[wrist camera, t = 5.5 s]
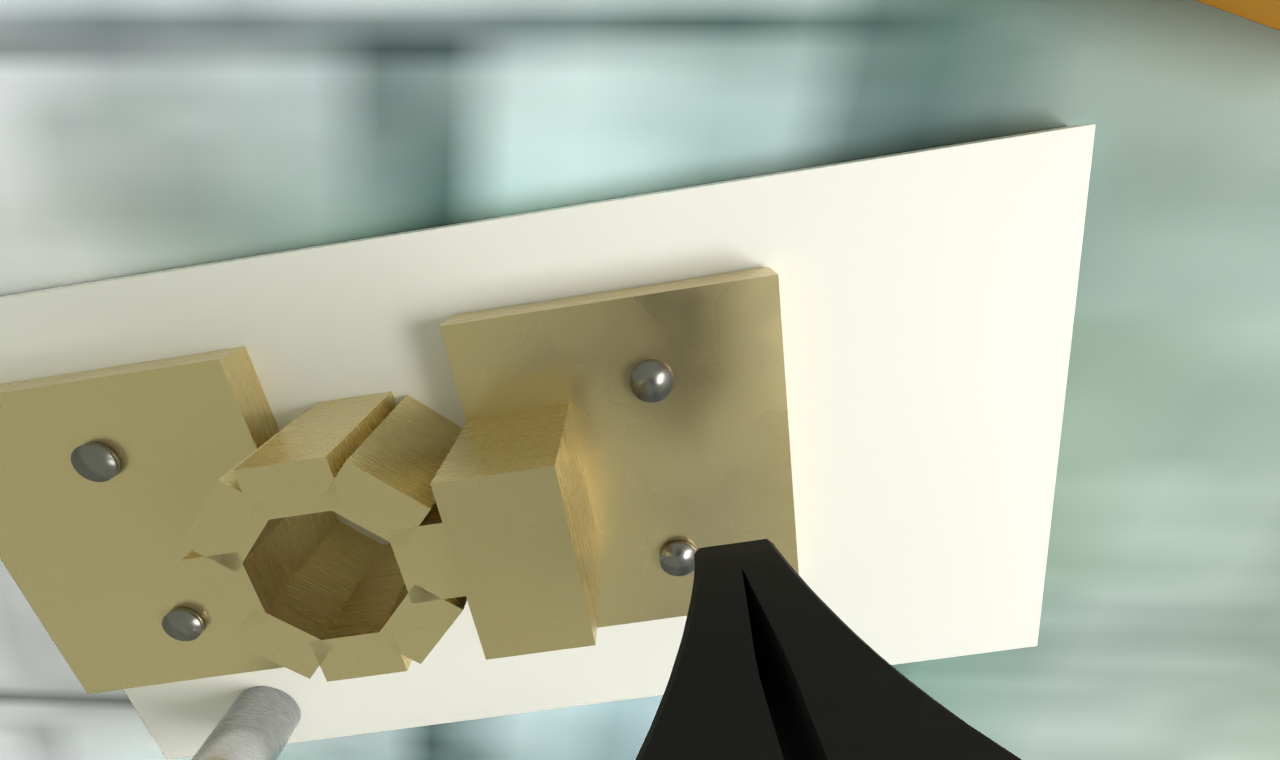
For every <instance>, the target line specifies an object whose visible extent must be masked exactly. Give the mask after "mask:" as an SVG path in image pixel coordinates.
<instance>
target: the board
mask: <svg viewBox="0 0 1280 760" xmlns="http://www.w3.org/2000/svg"><path fill="white" fill-rule="evenodd" d="M1095 125H1096V124H1090V125H1076V126H1067V127H1060V128H1054V129H1048V130H1042V131H1035V132H1029V133H1023V134H1016V135H1010V136H1004V137H998V138H991V139H985V140H979V141H972V142H966V143H960V144H954V145H947V146H941V147H935V148H928V149H922V150H916V151H910V152H903V153H897V154H891V155H885V156H878V157H872V158H866V159H859V160H853V161H847V162H841V163H834V164H828V165H822V166H815V167H809V168H803V169H797V170H790V171H784V172H778V173H771V174H765V175H759V176H753V177H746V178H740V179H734V180H728V181H721V182H715V183H709V184H702V185H696V186H690V187H684V188H677V189H671V190H665V191H658V192H652V193H646V194H640V195H633V196H627V197H621V198H614V199H608V200H602V201H596V202H589V203H583V204H577V205H570V206H564V207H558V208H552V209H545V210H539V211H533V212H527V213H520V214H514V215H508V216H501V217H495V218H489V219H483V220H476V221H470V222H464V223H457V224H451V225H445V226H439V227H432V228H426V229H420V230H413V231H407V232H401V233H395V234H388V235H382V236H376V237H370V238H363V239H357V240H351V241H344V242H338V243H332V244H326V245H319V246H313V247H307V248H300V249H294V250H288V251H282V252H275V253H269V254H263V255H256V256H250V257H244V258H238V259H231V260H225V261H219V262H213V263H206V264H200V265H194V266H187V267H181V268H175V269H169V270H162V271H156V272H150V273H143V274H137V275H131V276H125V277H118V278H112V279H106V280H99V281H93V282H87V283H81V284H74V285H68V286H62V287H56V288H49V289H43V290H37V291H30V292H24V293H18V294H12V295H5V296H0V384H3V383H9V382H16V381H22V380H29V379H35V378H42V377H48V376H55V375H61V374H68V373H74V372H80V371H87V370H93V369H100V368H106V367H113V366H119V365H126V364H132V363H139V362H145V361H152V360H158V359H165V358H171V357H178V356H184V355H191V354H197V353H204V352H210V351H217V350H223V349H230V348H236V347H243V346H245V347H246V349H247V352H248V354H249V357H250V359H251V362H252V364H253V366H254V369H255V371H256V374H257V376H258V379H259V381H260V384H261V386H262V389H263V391H264V394H265V396H266V398H267V401H268V403H269V406H270V408H271V411H272V413H273V416H274V418H275V421H276V423H277V426H278V428H279V431H280V430H282V429H283V428H284V427H285V426H287V425H288V424H289V423H291V422H292V421H293V420H294V419H296V418H297V417H298V416H299V415H301V414H302V413H303V412H305V411H306V410H310V409H311V408H312V407H313V406H315V405H316V404H317V403H318V402H323V401H330V400H337V399H343V398H350V397H357V396H363V395H370V394H377V393H383V392H390V391H392V393H393V396H394V399H395V403H396V406H397V405H398V404H399V403H400V402H401V401H402V400H403V399H404V398H405V397H406V396H407V395H409V396H411V397H412V398H414V399H416V400H417V401H419V402H420V403H422V404H424V405H425V406H427V407H429V408H430V409H432V410H434V411H435V412H437V413H439V414H440V415H442V416H443V417H445V418H447V419H448V420H450V421H452V422H453V423H455V424H457V425H458V426H460V427H461V428H464V427H465V425H466V419H465V416H464V412H463V409H462V405H461V402H460V398H459V394H458V391H457V387H456V384H455V380H454V377H453V373H452V369H451V366H450V362H449V359H448V355H447V352H446V348H445V344H444V341H443V337H442V334H441V330H440V327H439V326H440V325H441V324H443V323H444V322H445V321H446V320H447V319H448V318H449V317H450V316H451V315H456V314H463V313H469V312H476V311H482V310H489V309H495V308H502V307H508V306H515V305H521V304H528V303H534V302H540V301H547V300H553V299H560V298H566V297H573V296H579V295H586V294H592V293H599V292H605V291H612V290H618V289H625V288H631V287H638V286H644V285H651V284H657V283H664V282H670V281H677V280H683V279H690V278H696V277H703V276H709V275H716V274H722V273H729V272H735V271H742V270H748V269H755V268H761V267H769V268H771V269H772V270H773V271H775V272H776V273H777V274H778V278H779V292H780V307H781V322H782V336H783V351H784V365H785V380H786V395H787V409H788V424H789V439H790V453H791V468H792V483H793V497H794V512H795V527H796V541H797V556H798V571H799V576H800V577H801V578H802V579H803V580H804V581H805V583H806V584H807V585H808V586H809V587H810V588H811V589H812V590H813V591H814V592H815V593H816V595H817V596H818V597H819V598H820V599H821V600H822V601H823V602H824V603H825V604H826V605H827V606H828V607H829V608H830V609H831V610H832V611H833V612H834V613H835V614H836V615H837V616H838V617H839V618H840V619H841V620H842V621H843V622H844V623H845V624H846V625H847V626H848V627H849V628H850V629H851V630H852V631H853V632H855V633H856V634H857V635H858V636H859V637H860V638H861V639H862V640H863V641H864V642H865V643H867V644H868V645H869V646H870V647H871V648H872V649H873V650H874V651H875V652H876V653H878V654H879V655H880V656H881V657H882V658H883V659H884V660H886V661H887V662H888V663H889V664H890V665H894V664H902V663H910V662H917V661H925V660H933V659H940V658H948V657H956V656H963V655H971V654H979V653H986V652H994V651H1002V650H1009V649H1017V648H1025V647H1032V646H1037V642H1038V634H1039V625H1040V616H1041V607H1042V598H1043V589H1044V580H1045V571H1046V562H1047V553H1048V544H1049V535H1050V526H1051V518H1052V509H1053V500H1054V491H1055V482H1056V473H1057V464H1058V455H1059V446H1060V437H1061V428H1062V419H1063V411H1064V402H1065V393H1066V384H1067V375H1068V366H1069V357H1070V348H1071V339H1072V330H1073V321H1074V312H1075V304H1076V295H1077V286H1078V277H1079V268H1080V259H1081V250H1082V241H1083V232H1084V223H1085V214H1086V205H1087V196H1088V188H1089V179H1090V170H1091V161H1092V152H1093V143H1094V134H1095ZM336 515H337V518H338V521H340V522H342V523H344V524H345V525H347V526H349V527H351V528H353V529H355V530H356V531H358V532H360V533H362V534H364V535H366V536H368V537H369V538H371V539H373V540H375V541H377V542H379V543H381V544H389V543H390V542H389V541H387V540H385V539H383V538H381V537H379V536H378V535H376V534H374V533H372V532H370V531H368V530H366V529H365V528H363V527H361V526H359V525H357V524H355V523H354V522H352V521H350V520H348V519H346V518H344V517H343V516H341V515H339V514H337V513H336ZM686 619H687V616H681V617H673V618H666V619H659V620H651V621H644V622H636V623H629V624H621V625H614V626H607V627H599V628H597V633H596V645H593V646H586V647H578V648H571V649H563V650H556V651H548V652H541V653H533V654H526V655H518V656H511V657H503V658H496V659H489V660H486V658H485V655H484V652H483V649H482V646H481V643H480V639H479V636H478V633H477V630H476V627H475V624H474V621H473V617H472V614H471V611H470V608H469V605H468V602H467V601H466V604H465V607H464V610H463V611H462V612H461V614H460V615H459V616H458V617H457V619H456V620H455V621H454V623H453V624H452V625H451V626H450V628H449V629H448V630H447V631H446V633H445V634H444V635H443V637H442V638H441V639H440V640H439V642H438V643H437V644H436V645H435V647H434V648H433V649H432V651H431V652H430V653H429V654H428V656H427V657H426V658H425V659H424V661H423V662H422V663H421V664H420V663H418V662H416V661H413V660H412V661H411V664H410V666H409V668H408V671H404V672H397V673H389V674H382V675H374V676H367V677H359V678H352V679H344V680H337V681H329V682H327V680H326V678H325V676H324V674H323V671H322V669H321V667H320V666H319V667H318V668H317V670H316V671H315V673H314V674H313V675H312V677H311V678H310V679H309V678H307V677H305V676H302V675H300V674H298V673H296V672H294V671H292V670H290V669H287V668H285V667H283V668H276V669H268V670H261V671H253V672H246V673H239V674H231V675H224V676H216V677H209V678H202V679H194V680H187V681H179V682H172V683H165V684H157V685H150V686H142V687H135V688H128V689H124V691H125V692H126V694H127V696H128V697H129V699H130V701H131V702H132V704H133V705H134V707H135V709H136V710H137V712H138V714H139V715H140V717H141V718H142V720H143V722H144V723H145V725H146V727H147V728H148V730H149V732H150V733H151V735H152V736H153V738H154V740H155V741H156V743H157V745H158V746H159V748H160V749H161V751H162V753H163V754H164V756H165V758H166V759H174V758H182V757H189V756H194V755H195V754H196V752H197V751H198V750H199V748H200V747H201V746H202V744H203V743H204V742H205V740H206V739H207V738H208V736H209V735H210V734H211V732H212V731H213V730H214V728H215V727H216V725H217V724H218V723H219V721H220V720H221V719H222V717H223V716H224V715H225V713H226V712H227V711H228V709H229V708H230V707H231V705H232V704H233V703H234V701H235V700H236V699H237V697H238V696H239V695H240V694H241V693H242V692H243V691H245V690H246V689H249V688H252V687H259V686H264V687H271V688H275V689H278V690H280V691H283V692H284V693H286V694H288V695H289V696H290V697H292V698H293V699H294V700H295V701H296V703H297V704H298V706H299V708H300V711H301V718H300V721H299V723H298V725H297V727H296V728H295V730H294V732H293V733H292V735H291V737H290V738H289V740H288V742H287V743H286V744H289V743H297V742H304V741H312V740H320V739H327V738H335V737H342V736H350V735H358V734H365V733H373V732H381V731H388V730H396V729H404V728H411V727H419V726H427V725H434V724H442V723H450V722H457V721H465V720H473V719H480V718H488V717H496V716H503V715H511V714H519V713H526V712H534V711H542V710H549V709H557V708H565V707H572V706H580V705H588V704H595V703H603V702H611V701H618V700H626V699H634V698H641V697H649V696H657V695H664V692H665V689H666V686H667V684H668V681H669V678H670V675H671V672H672V668H673V665H674V662H675V659H676V656H677V652H678V649H679V646H680V643H681V639H682V636H683V632H684V627H685V623H686Z"/></svg>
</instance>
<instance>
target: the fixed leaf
mask: <svg viewBox="0 0 1280 760" xmlns="http://www.w3.org/2000/svg"><path fill="white" fill-rule="evenodd" d="M462 430H463V428H461V427H460V426H458V425H457V424H455V423H453V422H452V421H450V420H448V419H447V418H445V417H443V416H442V415H440V414H439V413H437V412H435V411H434V410H432V409H430V408H429V407H427V406H425V405H424V404H422V403H420V402H419V401H417V400H416V399H414V398H412V397H411V396H409V395H407V396H406V397H405V398H404V399H403V400H402V401H401V402H400V403H399V404H398V405H397V406H396V403H395V399H394V396H393V393H392V391H390V392H383V393H377V394H370V395H363V396H357V397H350V398H343V399H337V400H330V401H323V402H318V403H317V404H316V405H315V406H313V407H312V408H311V409H310V410H306V411H305V412H303V413H302V414H301V415H299V416H298V417H297V418H296V419H294V420H293V421H292V422H291V423H289V424H288V425H287V426H285V427H284V428H283V429H282V430H280V431H279V428H278V426H277V423H276V421H275V418H274V416H273V413H272V411H271V408H270V406H269V403H268V401H267V398H266V396H265V394H264V391H263V389H262V386H261V384H260V381H259V379H258V376H257V374H256V371H255V369H254V366H253V364H252V362H251V359H250V357H249V354H248V352H247V349H246V347H245V346H243V347H236V348H230V349H223V350H217V351H210V352H204V353H197V354H191V355H184V356H178V357H171V358H165V359H158V360H152V361H145V362H139V363H132V364H126V365H119V366H113V367H106V368H100V369H93V370H87V371H80V372H74V373H68V374H61V375H55V376H48V377H42V378H35V379H29V380H22V381H16V382H9V383H3V384H0V559H1V560H2V562H3V563H4V565H5V566H6V568H7V570H8V571H9V573H10V574H11V576H12V577H13V579H14V580H15V582H16V583H17V585H18V587H19V588H20V590H21V591H22V593H23V594H24V596H25V597H26V599H27V601H28V602H29V604H30V605H31V607H32V608H33V610H34V611H35V613H36V615H37V616H38V618H39V619H40V621H41V622H42V624H43V625H44V627H45V628H46V630H47V632H48V633H49V635H50V636H51V638H52V639H53V641H54V642H55V644H56V646H57V647H58V649H59V650H60V652H61V653H62V655H63V656H64V658H65V659H66V661H67V663H68V664H69V666H70V667H71V669H72V670H73V672H74V673H75V675H76V677H77V678H78V680H79V681H80V683H81V684H82V686H83V687H84V689H85V690H86V692H87V694H90V693H98V692H105V691H113V690H120V689H128V688H135V687H142V686H150V685H157V684H165V683H172V682H179V681H187V680H194V679H202V678H209V677H216V676H224V675H231V674H239V673H246V672H253V671H261V670H268V669H276V668H283V667H285V668H287V669H290V670H292V671H294V672H296V673H298V674H300V675H302V676H305V677H307V678H309V679H310V678H311V677H312V675H313V674H314V673H315V671H316V670H317V668H318V667H319V666H320V667H321V669H322V671H323V674H324V676H325V678H326V680H327V682H329V681H337V680H344V679H352V678H359V677H367V676H374V675H382V674H389V673H397V672H404V671H408V668H409V666H410V664H411V661H412V660H413V661H416V662H418V663H420V664H421V663H422V662H423V661H424V659H425V658H426V657H427V656H428V654H429V653H430V652H431V651H432V649H433V648H434V647H435V645H436V644H437V643H438V642H439V640H440V639H441V638H442V637H443V635H444V634H445V633H446V631H447V630H448V629H449V628H450V626H451V625H452V624H453V623H454V621H455V620H456V619H457V617H458V616H459V615H460V614H461V612H462V611H463V610H464V607H465V604H466V601H467V598H466V595H465V592H464V589H463V586H462V583H461V580H460V576H459V573H458V570H457V567H456V564H455V561H454V557H453V554H452V551H451V548H450V545H449V542H448V539H447V535H446V532H445V529H444V526H443V523H442V520H441V516H440V513H439V510H438V507H437V504H436V501H435V498H434V494H433V491H432V488H431V485H430V483H431V481H432V480H433V478H434V476H435V475H436V473H437V472H438V470H439V468H440V467H441V465H442V463H443V462H444V460H445V458H446V457H447V455H448V453H449V452H450V450H451V448H452V447H453V445H454V443H455V442H456V440H457V438H458V437H459V435H460V433H461V432H462ZM336 513H337V514H339V515H341V516H343V517H344V518H346V519H348V520H350V521H352V522H354V523H355V524H357V525H359V526H361V527H363V528H365V529H366V530H368V531H370V532H372V533H374V534H376V535H378V536H379V537H381V538H383V539H385V540H387V541H389V542H390V543H389V544H381V543H379V542H377V541H375V540H373V539H371V538H369V537H368V536H366V535H364V534H362V533H360V532H358V531H356V530H355V529H353V528H351V527H349V526H347V525H345V524H344V523H342V522H340V521H338V518H337V515H336Z"/></svg>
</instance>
